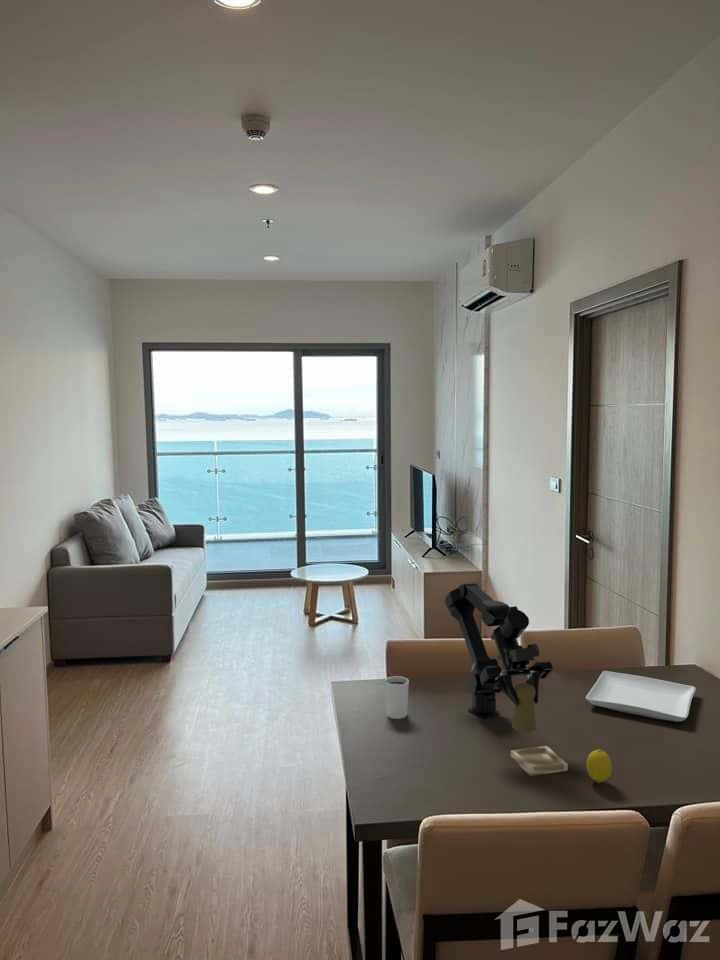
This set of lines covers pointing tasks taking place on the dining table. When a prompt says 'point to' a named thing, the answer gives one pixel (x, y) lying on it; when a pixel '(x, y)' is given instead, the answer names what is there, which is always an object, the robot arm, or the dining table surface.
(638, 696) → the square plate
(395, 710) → the drinking glass
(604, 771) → the lemon
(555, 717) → the dining table surface
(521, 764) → the holder
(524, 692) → the olive green cylinder
